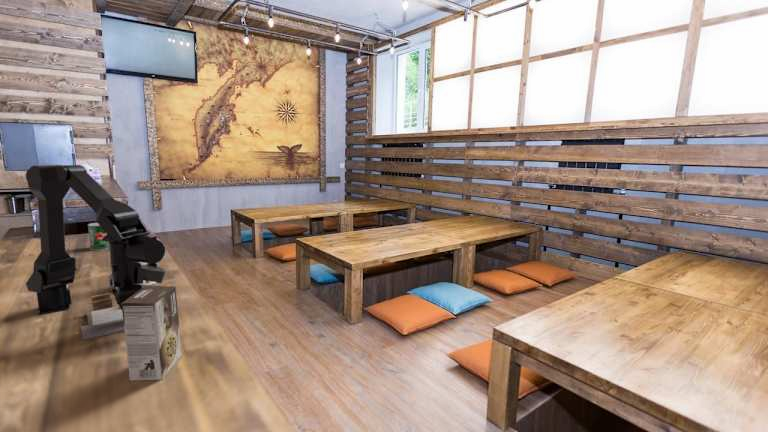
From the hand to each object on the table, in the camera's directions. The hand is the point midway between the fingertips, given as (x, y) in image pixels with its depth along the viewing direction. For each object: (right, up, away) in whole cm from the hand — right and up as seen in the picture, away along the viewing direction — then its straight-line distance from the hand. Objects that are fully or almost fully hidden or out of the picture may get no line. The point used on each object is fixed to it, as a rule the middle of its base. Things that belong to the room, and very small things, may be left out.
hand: (130, 317), depth 99 cm
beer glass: (-13, +4, +30) cm, 33 cm away
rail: (0, +1, 0) cm, 1 cm away
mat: (0, -1, 0) cm, 1 cm away
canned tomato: (-60, +12, +72) cm, 94 cm away
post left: (-11, 0, +5) cm, 12 cm away
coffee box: (+19, -5, -20) cm, 28 cm away
